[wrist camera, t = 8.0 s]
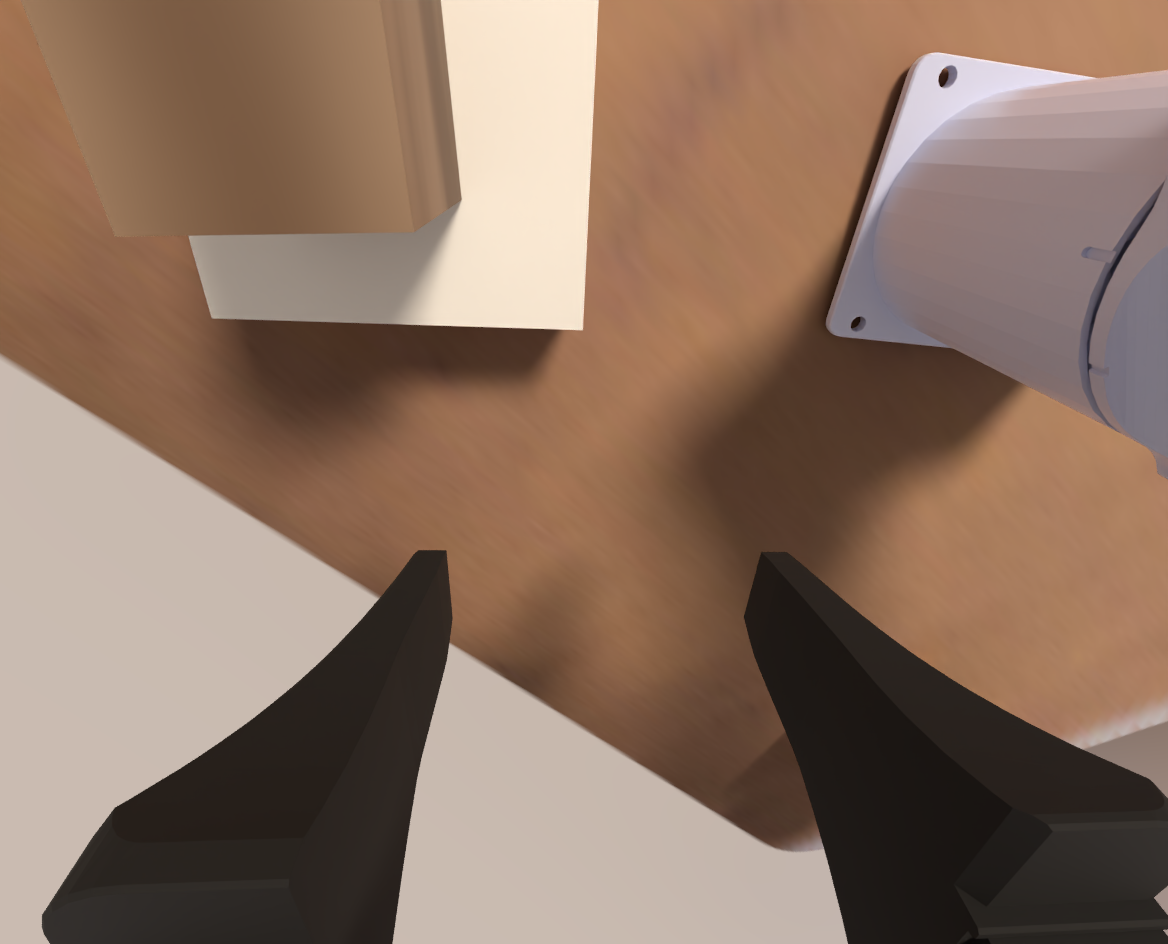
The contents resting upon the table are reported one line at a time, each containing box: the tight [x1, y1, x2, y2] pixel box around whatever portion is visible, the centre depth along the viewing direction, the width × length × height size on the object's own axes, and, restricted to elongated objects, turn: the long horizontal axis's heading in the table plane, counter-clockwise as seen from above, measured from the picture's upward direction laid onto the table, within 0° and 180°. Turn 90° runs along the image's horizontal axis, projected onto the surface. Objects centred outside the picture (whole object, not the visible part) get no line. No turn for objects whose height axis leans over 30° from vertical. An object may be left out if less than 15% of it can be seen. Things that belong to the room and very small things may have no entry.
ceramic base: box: [188, 0, 599, 330], centre depth 15 cm, size 10×10×4 cm
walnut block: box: [21, 0, 462, 237], centre depth 10 cm, size 4×4×6 cm
